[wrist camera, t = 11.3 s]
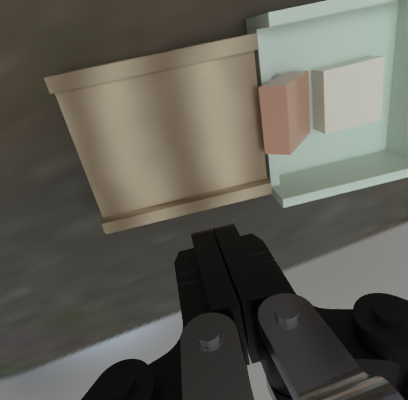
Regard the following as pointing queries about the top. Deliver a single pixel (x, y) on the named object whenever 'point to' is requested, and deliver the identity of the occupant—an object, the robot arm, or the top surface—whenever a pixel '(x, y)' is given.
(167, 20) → the top surface
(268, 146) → the tile
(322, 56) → the tray
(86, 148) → the beige shallow box
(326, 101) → the tile
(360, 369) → the robot arm
